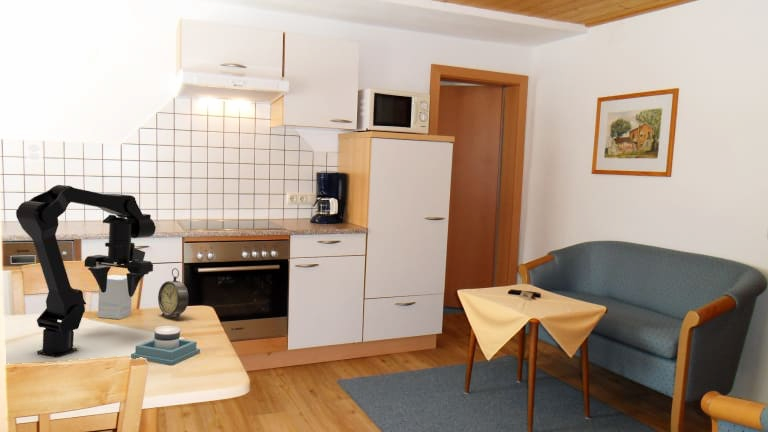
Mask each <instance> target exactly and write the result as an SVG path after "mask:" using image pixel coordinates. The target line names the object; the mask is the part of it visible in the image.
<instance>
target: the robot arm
mask: <svg viewBox="0 0 768 432" xmlns="http://www.w3.org/2000/svg"><path fill="white" fill-rule="evenodd" d="M70 203H75V204H79V205H84V206H90V207H94V208H98V209H100V210H102V211H104V212H106V213H108V216H107V217H106V218H104V219H103V220H102V223H103V224H109V226H108V227H109V229H108V241H107V242H105V243H104V247H106V248H107V247H108V248H107V255H103V254H95V255H89V256H88V255H87V256H86V258H85V259H84V267H87V270H88V271H90V272H91V275H93V277H94V279H95V281H96V283H97V286H98V288H99V287H100V289H101V292H102V293H104V292H106V288H107V276H108V275H109V271H110V269H111V267H112V268H113V267H114V268H122V269H127V271H128V273H126V276H127V284H128V293H129V297H134V295H135V292H136V290H137V288H138V285H139V283H140V281H141V280H142V278H144V276H145V275H148V274H149V273H150V272H154V264H153V263H152V261H151V260H144V259H145V255H146V251H143V250H141V249H138V248H135V245H136V244H135V242H132V239H141V238H150V237H153V236H154V234H155V233H156V230H157V229H156V228H157V227H156V225H155V222H154V220H153V219H152V217H151V214H149V213H142V211H141V209H140V207H139V205H138V203H137V199H136V197H135V196H133V195H132V194H131V195H129V194H120V193H100V192H96V191H91V190H86V189H81V188H78V187H77V188H76V187H73V186H71V185H62V184H56V185H55V186H52V187H50V189H48V190H47V191H46V190H45V192H42V193H40V194H38V195H36V196H33V197H32V198H31V199H29V200H27V201H23V202H21V203H20V205H19V206H18V207H17V209H16V211H15V215H16V218H17V221H18V223H19V224H20V226H21V228H22V230H24V232H25V234H27V235H28V236H29V237H30V239H31V240H32V242H33V245H34V248H35V251H36V252H35V253H36V254H37V258H38V260H39V261H38V262H39V263H40V267H41V271H42V274H43V277H44V280H45V283H46V287H47V290H48V292H47V297H46V299H45V304H46V306H45V307H46V308H45V310H43V312H42V313H41V314H40V315H39V317H38V318H36V324H37V326H38V328H42V349H40V350H37V354H41V355H47V356H50V357H57V358H58V357H61V356H64V355H68V354H70V353H73V352H76V351H78V348H76V347H74V337H75V335H74V333H75V332H74V330H79V327H80V324H81V322H82V319H83V315H84V314H85V312H86V307H85V306H86V305H87V302H86V301H85V298H84V293H83V291H82V290H81V289H78V288H73V287H72V286H71V282H70V280H69V276H68V273H67V270H66V267H65V263H64V260H63V256H62V253H61V249H60V246H59V242H58V239H57V237H56V233H57V231H58V227H59V217H60V216H62V214H64V213H65V212H66V210H67V208H68V206H69V204H70ZM60 321H61V322H60Z"/></svg>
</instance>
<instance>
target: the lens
mask: <svg viewBox="0 0 768 432" xmlns="http://www.w3.org/2000/svg"><path fill="white" fill-rule="evenodd" d="M153 338H154V339H155V343H154V348H158V349H164V350H170V351H171V350H174V349H176V348H178V347H179V339H181V328H180V327H179V326H175V325H161V326H157V327H155V328H154V337H153Z"/></svg>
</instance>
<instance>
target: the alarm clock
mask: <svg viewBox="0 0 768 432" xmlns="http://www.w3.org/2000/svg"><path fill="white" fill-rule="evenodd" d="M174 270H176V271H177V276H176V275H175V276H174V273H173V272H174ZM179 272H180V271H179V270H178V268H176V267H174V268H172V269H171V275H172V277H173V280H169V281H167V280H166V281H165V282H164V283H162V284H161V286H160V288H159V290H158V294H157V302H158V307H159V309H160V310H161V311H160V312H162V314H161V316H164V315H165V316H167V317H169V316H176V319H177V321H180V315H181V314H182V313H184V312H185V310H186V309H187V307H188V306H189V305H188V304H189V297H190V296H189V291H188V288H187V287H186V285H185V284H184V283H183V282H181V281H180V280H177V279H178V278H179V275H180V273H179Z"/></svg>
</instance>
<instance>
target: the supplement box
mask: <svg viewBox="0 0 768 432" xmlns="http://www.w3.org/2000/svg"><path fill="white" fill-rule="evenodd" d="M132 297H133V296H132ZM132 297H129V293H128V284H127V275H119V274H108V275H107V288H106V292H104V293H102V292H101V289H100V287H99V286H98V307H97V308H98V310H97V311H98V312H97V317H98V318H104V319H114V320H115V319H117V320H120V319H121V320H122V319H123V318H125V317H129V316H131V314H132V300H133V299H132Z"/></svg>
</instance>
